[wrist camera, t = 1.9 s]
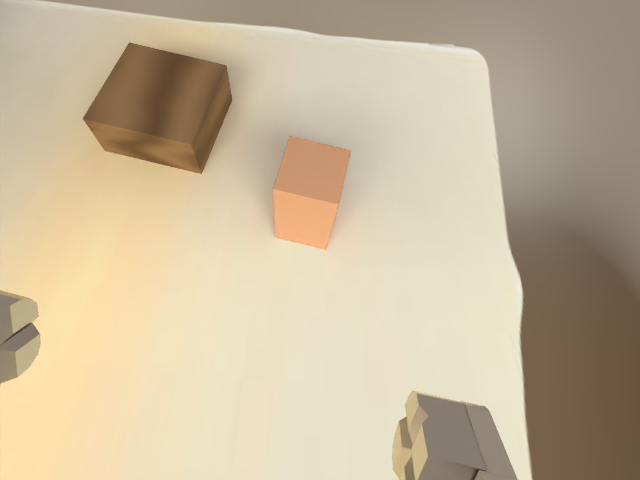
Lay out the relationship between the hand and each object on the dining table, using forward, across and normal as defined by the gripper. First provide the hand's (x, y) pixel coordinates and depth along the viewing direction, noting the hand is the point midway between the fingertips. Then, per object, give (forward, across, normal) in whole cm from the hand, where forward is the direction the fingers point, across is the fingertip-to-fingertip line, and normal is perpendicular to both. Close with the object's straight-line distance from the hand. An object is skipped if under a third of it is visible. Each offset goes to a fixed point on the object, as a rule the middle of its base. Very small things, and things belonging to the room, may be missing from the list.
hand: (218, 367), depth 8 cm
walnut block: (+34, +17, +1) cm, 38 cm away
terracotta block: (+29, +1, +6) cm, 30 cm away
